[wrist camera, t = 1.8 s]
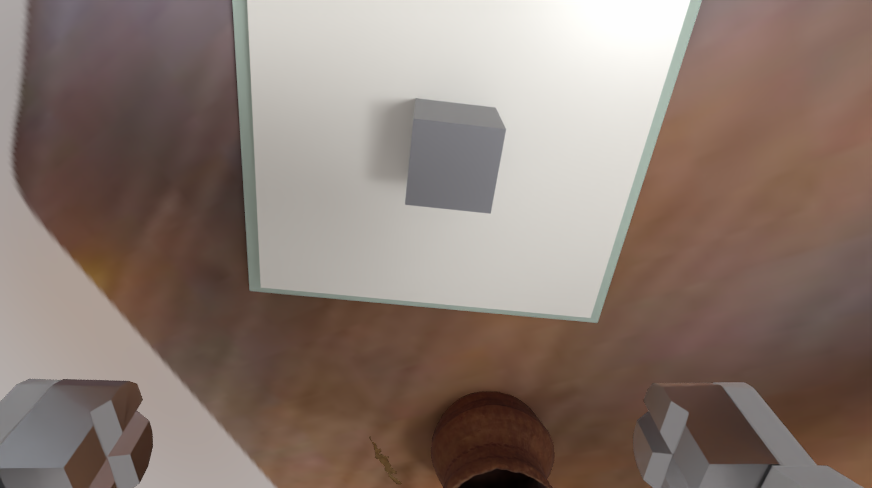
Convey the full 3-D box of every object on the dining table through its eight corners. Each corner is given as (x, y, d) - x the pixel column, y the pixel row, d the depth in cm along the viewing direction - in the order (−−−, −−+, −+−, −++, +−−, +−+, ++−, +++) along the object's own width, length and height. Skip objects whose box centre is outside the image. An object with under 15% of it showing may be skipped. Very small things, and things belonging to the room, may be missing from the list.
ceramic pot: (402, 522, 43) (399, 614, 37) (337, 361, 36) (320, 442, 29) (616, 485, 42) (651, 573, 36) (598, 308, 34) (639, 381, 28)
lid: (697, -54, 23) (759, -61, 19) (586, 308, 33) (610, 361, 28) (248, -118, 22) (203, -140, 18) (265, 278, 31) (238, 329, 27)
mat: (721, -76, 23) (726, -77, 23) (595, 318, 34) (597, 322, 33) (227, -147, 22) (223, -150, 22) (251, 286, 32) (249, 290, 32)
